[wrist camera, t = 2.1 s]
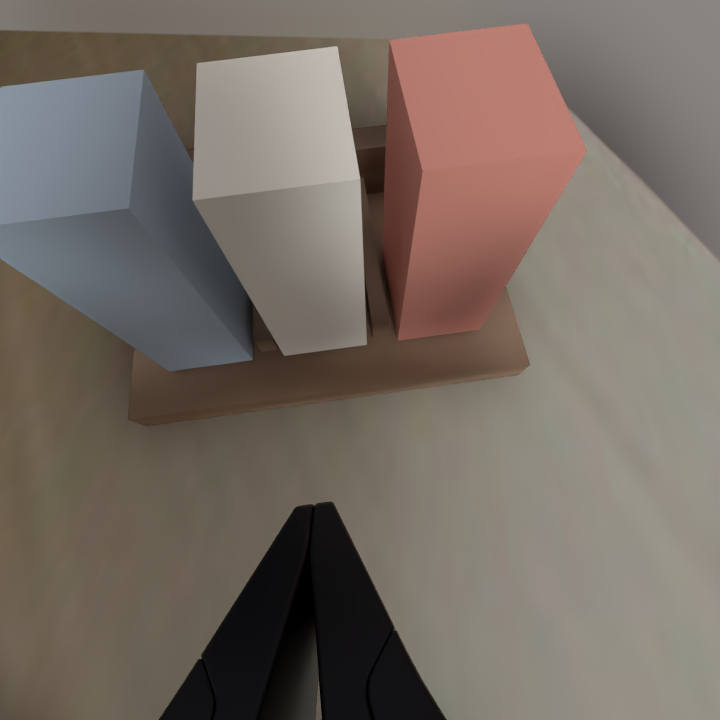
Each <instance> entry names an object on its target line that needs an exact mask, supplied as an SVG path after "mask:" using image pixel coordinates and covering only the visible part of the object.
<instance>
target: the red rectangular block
mask: <svg viewBox="0 0 720 720" xmlns="http://www.w3.org/2000/svg"><path fill="white" fill-rule="evenodd" d="M586 152H587V149H586V147H585V145H584V142H583V140H582V138H581V136H580V134H579V132H578V130H577V128H576V125H575V123H574V121H573V119H572V117H571V115H570V113H569V111H568V108H567V106H566V104H565V102H564V100H563V98H562V96H561V94H560V92H559V90H558V87H557V85H556V83H555V81H554V79H553V77H552V75H551V73H550V70H549V68H548V66H547V64H546V62H545V60H544V58H543V56H542V53H541V51H540V49H539V47H538V45H537V43H536V41H535V39H534V36H533V34H532V32H531V30H530V28H529V26H528V24H518V25H511V26H502V27H494V28H485V29H477V30H469V31H461V32H452V33H444V34H436V35H428V36H419V37H411V38H403V39H395V40H389V66H388V95H387V124H386V153H385V182H384V211H383V240H382V258H383V263H384V269H385V274H386V280H387V285H388V291H389V296H390V301H391V307H392V312H393V318H394V323H395V329H396V334H397V340H398V341H400V340H407V339H415V338H422V337H430V336H437V335H445V334H452V333H459V332H467V331H474V330H480V328H481V327H482V325H483V323H484V322H485V320H486V318H487V317H488V315H489V313H490V312H491V310H492V308H493V307H494V305H495V303H496V302H497V300H498V298H499V297H500V295H501V293H502V292H503V290H504V288H505V287H506V285H507V283H508V282H509V280H510V278H511V277H512V275H513V273H514V272H515V270H516V268H517V267H518V265H519V263H520V262H521V260H522V258H523V257H524V255H525V253H526V252H527V250H528V248H529V247H530V245H531V243H532V242H533V240H534V238H535V237H536V235H537V233H538V232H539V230H540V228H541V227H542V225H543V223H544V222H545V220H546V218H547V217H548V215H549V213H550V212H551V210H552V208H553V207H554V205H555V203H556V202H557V200H558V198H559V197H560V195H561V193H562V192H563V190H564V188H565V187H566V185H567V183H568V182H569V180H570V178H571V177H572V175H573V173H574V172H575V170H576V168H577V167H578V165H579V163H580V162H581V160H582V158H583V157H584V155H585V153H586Z"/></svg>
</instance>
